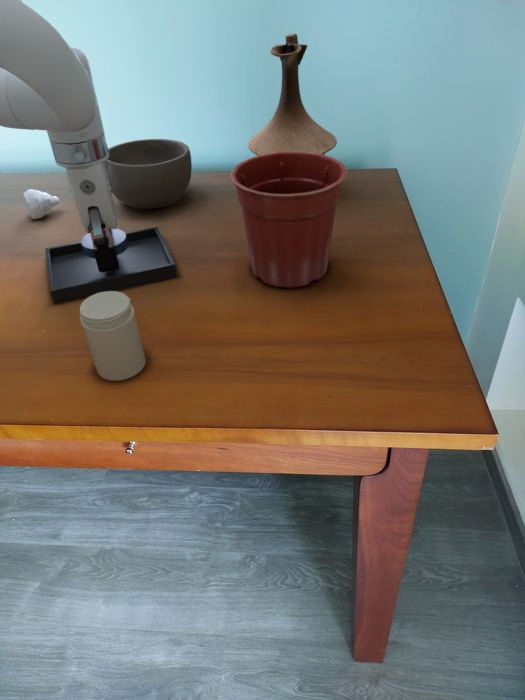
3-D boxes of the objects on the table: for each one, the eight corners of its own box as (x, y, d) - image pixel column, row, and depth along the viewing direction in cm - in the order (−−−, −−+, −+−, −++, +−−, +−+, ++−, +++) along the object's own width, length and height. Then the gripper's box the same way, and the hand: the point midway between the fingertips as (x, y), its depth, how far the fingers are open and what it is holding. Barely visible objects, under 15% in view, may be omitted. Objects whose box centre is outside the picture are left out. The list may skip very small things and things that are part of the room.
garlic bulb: (65, 216, 103) (57, 189, 100) (34, 223, 101) (25, 197, 98) (59, 206, 107) (51, 180, 104) (29, 213, 105) (19, 187, 101)
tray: (54, 304, 80) (49, 291, 78) (49, 260, 90) (45, 248, 89) (177, 276, 85) (175, 264, 83) (159, 238, 95) (157, 226, 93)
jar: (100, 386, 65) (80, 326, 59) (92, 356, 70) (73, 297, 64) (150, 372, 67) (136, 311, 61) (140, 343, 72) (125, 284, 66)
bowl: (174, 176, 117) (167, 129, 111) (211, 203, 105) (205, 153, 99) (99, 195, 110) (87, 147, 104) (129, 227, 99) (117, 175, 92)
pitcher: (255, 175, 115) (248, 28, 97) (333, 175, 114) (341, 25, 96) (246, 211, 102) (236, 47, 84) (334, 211, 100) (343, 44, 82)
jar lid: (128, 235, 88) (126, 225, 87) (127, 256, 83) (125, 246, 81) (85, 240, 87) (82, 230, 86) (81, 261, 82) (78, 251, 81)
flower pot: (219, 265, 87) (208, 169, 77) (296, 234, 94) (296, 142, 84) (280, 310, 77) (277, 206, 66) (361, 271, 84) (371, 172, 73)
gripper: (110, 166, 69) (135, 281, 80) (104, 127, 82) (127, 231, 93) (50, 173, 68) (85, 290, 79) (54, 133, 81) (84, 238, 92)
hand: (108, 257), depth 86 cm, fingers closed on jar lid, 7 cm apart
